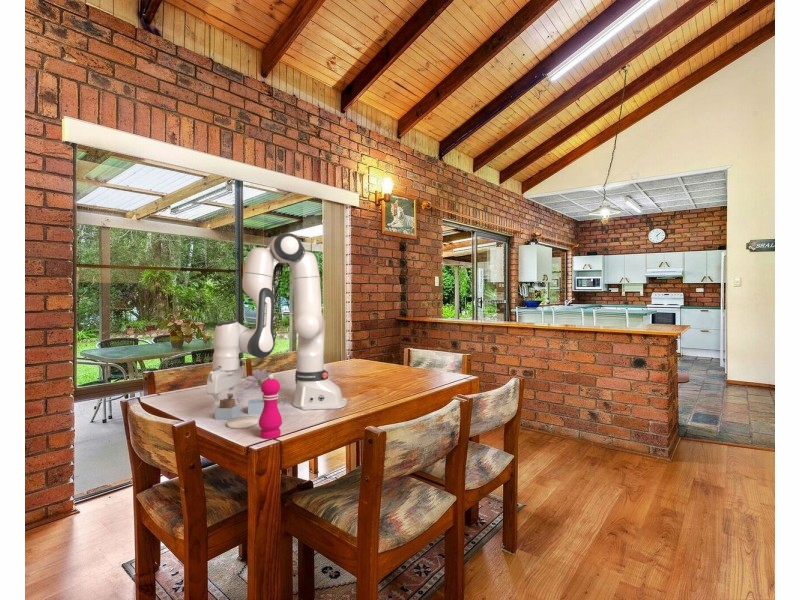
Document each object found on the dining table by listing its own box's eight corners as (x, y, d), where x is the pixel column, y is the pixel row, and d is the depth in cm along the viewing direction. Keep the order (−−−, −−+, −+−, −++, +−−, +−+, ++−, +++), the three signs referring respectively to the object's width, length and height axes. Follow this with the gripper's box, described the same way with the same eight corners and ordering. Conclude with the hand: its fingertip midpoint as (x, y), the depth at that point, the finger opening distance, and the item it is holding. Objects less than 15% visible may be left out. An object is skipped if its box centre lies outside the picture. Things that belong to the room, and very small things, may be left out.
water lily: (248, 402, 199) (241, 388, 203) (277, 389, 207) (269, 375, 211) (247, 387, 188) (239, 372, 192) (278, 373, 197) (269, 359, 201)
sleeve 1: (239, 414, 155) (239, 404, 155) (231, 419, 149) (231, 408, 149) (223, 414, 155) (223, 404, 155) (215, 419, 149) (215, 408, 149)
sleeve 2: (265, 408, 164) (265, 398, 164) (265, 412, 158) (265, 402, 158) (248, 409, 162) (248, 399, 162) (247, 414, 156) (247, 403, 156)
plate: (262, 419, 149) (262, 416, 149) (251, 428, 139) (251, 425, 139) (234, 419, 150) (234, 415, 150) (221, 428, 139) (221, 424, 139)
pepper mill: (266, 441, 127) (266, 377, 127) (254, 435, 132) (254, 374, 132) (286, 435, 133) (286, 374, 133) (274, 430, 138) (274, 371, 137)
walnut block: (234, 415, 154) (234, 398, 154) (230, 419, 150) (230, 401, 150) (224, 415, 154) (224, 398, 154) (219, 418, 150) (219, 401, 150)
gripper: (219, 369, 141) (218, 409, 142) (245, 360, 162) (244, 395, 162) (202, 368, 142) (200, 408, 142) (230, 359, 162) (228, 394, 162)
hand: (224, 401), depth 152 cm, fingers open, 8 cm apart
